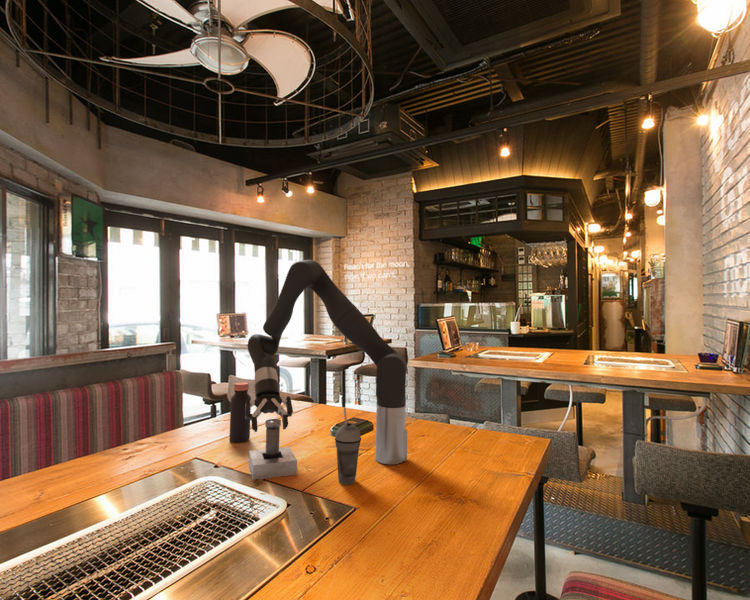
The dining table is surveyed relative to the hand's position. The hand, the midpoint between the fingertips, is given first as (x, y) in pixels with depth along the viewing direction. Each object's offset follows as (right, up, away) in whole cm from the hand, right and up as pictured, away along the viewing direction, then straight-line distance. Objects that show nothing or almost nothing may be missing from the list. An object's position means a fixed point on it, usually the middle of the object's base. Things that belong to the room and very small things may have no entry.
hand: (270, 429), depth 121 cm
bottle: (-17, -11, +21) cm, 29 cm away
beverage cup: (+24, -11, -11) cm, 28 cm away
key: (+1, -10, -4) cm, 11 cm away
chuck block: (+1, -10, -4) cm, 11 cm away
